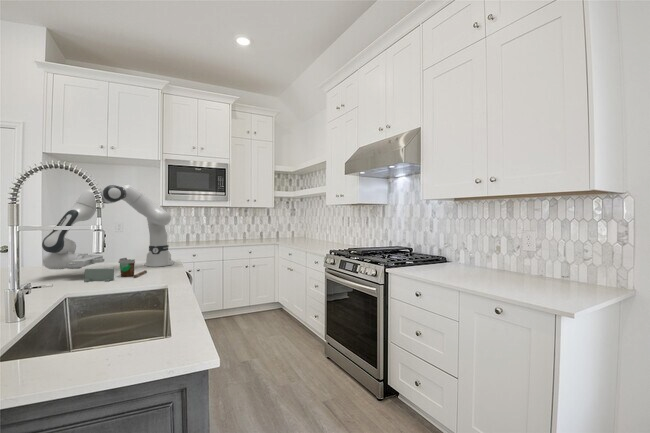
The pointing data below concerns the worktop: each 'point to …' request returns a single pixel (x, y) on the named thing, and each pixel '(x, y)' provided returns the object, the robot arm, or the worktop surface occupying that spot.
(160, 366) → the worktop surface
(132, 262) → the food container
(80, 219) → the robot arm
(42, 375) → the worktop surface
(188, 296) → the worktop surface
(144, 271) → the rail
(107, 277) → the screen
